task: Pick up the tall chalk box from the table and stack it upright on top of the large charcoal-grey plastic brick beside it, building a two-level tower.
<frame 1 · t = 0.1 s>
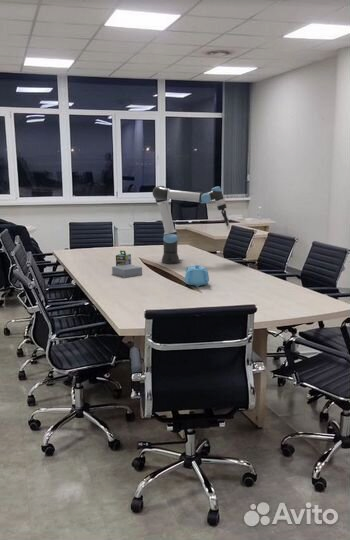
hand: (228, 228, 420), 28 cm above the table, tool tilted 20°, fingers open, 13 cm apart
chalk box: (123, 269, 387), on the table
decorative pot: (196, 285, 331), on the table
grey base brick: (127, 274, 366), on the table
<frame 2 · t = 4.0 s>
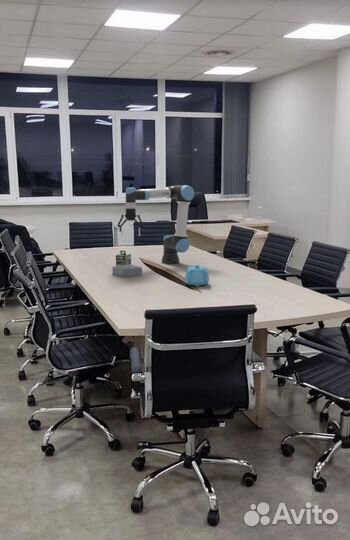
hand: (130, 236, 376), 27 cm above the table, tool pointing down, fingers open, 13 cm apart
nothing on the table moved.
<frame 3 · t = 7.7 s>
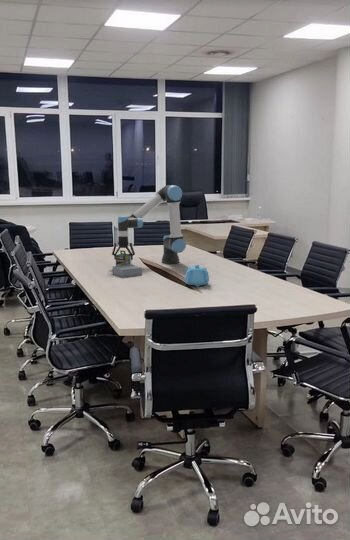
hand: (123, 263, 387), 4 cm above the table, tool pointing down, fingers closed on chalk box, 11 cm apart
chalk box: (123, 269, 387), on the table, touching gripper
everything else where it was.
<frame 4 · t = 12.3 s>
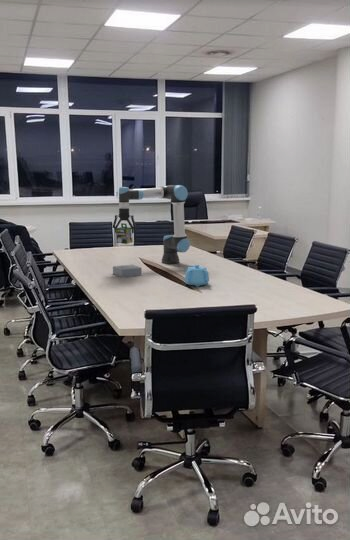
hand: (124, 237, 371), 26 cm above the table, tool pointing down, fingers closed on chalk box, 10 cm apart
chalk box: (124, 243, 372), point 22 cm above the table, touching gripper
everything else where it was.
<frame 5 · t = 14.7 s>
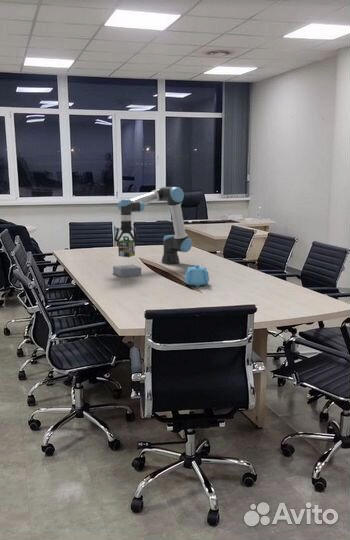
hand: (126, 250, 363), 18 cm above the table, tool pointing down, fingers closed on chalk box, 10 cm apart
chalk box: (126, 256, 363), point 14 cm above the table, touching gripper
when the fingers open (11 cm above the table, at t = 16.9 s): chalk box drops 2 cm, resting on grey base brick.
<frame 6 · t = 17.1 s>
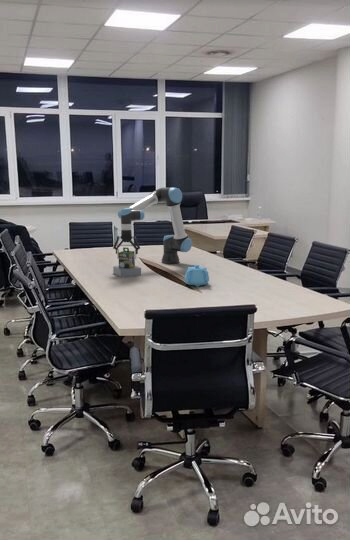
hand: (126, 258, 364), 12 cm above the table, tool pointing down, fingers open, 12 cm apart
chalk box: (126, 267, 365), point 5 cm above the table, touching grey base brick
grey base brick: (127, 275, 366), on the table, touching chalk box
everything else where it was.
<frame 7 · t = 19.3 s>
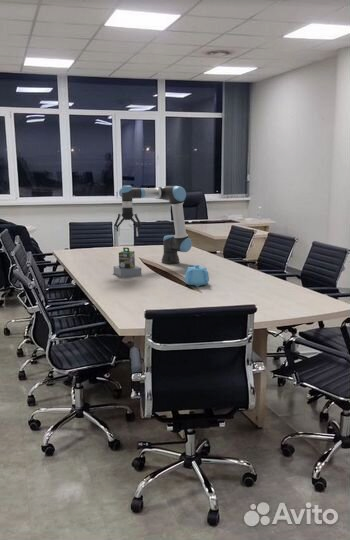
hand: (128, 236, 363), 28 cm above the table, tool pointing down, fingers open, 13 cm apart
nothing on the table moved.
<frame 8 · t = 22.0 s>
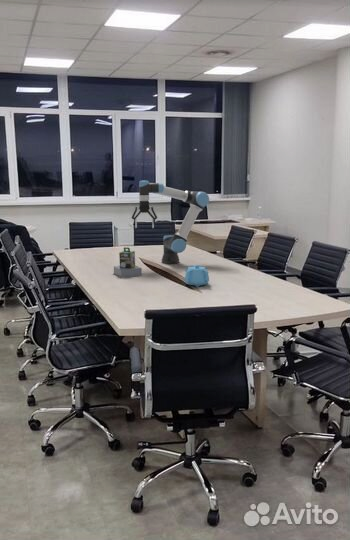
hand: (144, 227, 388), 32 cm above the table, tool pointing down, fingers open, 13 cm apart
nothing on the table moved.
at the end: chalk box inside the target area on the grey base brick (0.2 cm from its centre), point 5.8 cm above the grey base brick's base; chalk box tilted 0°; the gripper is holding nothing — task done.
